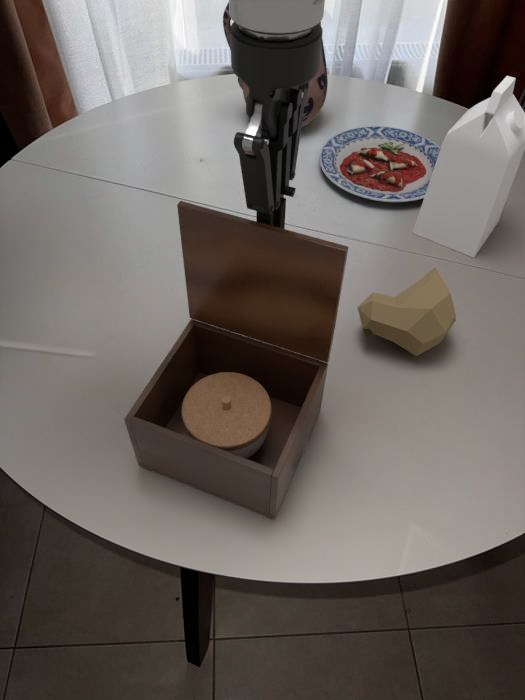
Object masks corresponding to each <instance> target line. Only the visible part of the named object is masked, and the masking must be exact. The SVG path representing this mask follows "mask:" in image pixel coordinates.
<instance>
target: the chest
mask: <svg viewBox="0 0 525 700" xmlns="http://www.w3.org/2000/svg"><path fill="white" fill-rule="evenodd" d="M328 366H329V362H328V363H327V362H323V361H320V360H317V359H314V358H311V357H308V356H305V355H302V354H299V353H296V352H293V351H290V350H286V349H283V348H280V347H277V346H274V345H271V344H268V343H265V342H262V341H259V340H256V339H253V338H249V337H246V336H243V335H240V334H237V333H234V332H231V331H228V330H225V329H222V328H219V327H216V326H213V325H209V324H206V323H203V322H200V321H197V320H194V319H191V318H190V320H189V321H188V323H187V324H186V326H185V327H184V329H183V330H182V332H181V333H180V335H179V336H178V338H177V340H176V341H175V342H174V344H173V346H172V347H171V348H170V349H169V351H168V353H167V354H166V356H165V358H163V360H162V362H161V363H160V364H159V366H158V367H157V369H156V371H155V372H154V374H153V375H152V376H151V378H150V380H149V381H148V383H147V384H146V386H145V387H144V389H143V390H142V392H141V393H140V395H139V396H138V398H137V399H136V401H135V402H134V404H133V405H132V407H131V408H130V410H129V411H128V412H127V414H126V415H125V416H124V419H123V420H124V423H125V427H126V429H127V433H128V436H129V439H130V444H131V446H132V449H133V452H134V455H135V458H136V461H137V465H138V466H139V467H142V468H145V469H146V470H149V471H152V472H155V473H156V474H159V473H160V475H162V476H165V477H167V478H169V479H172V480H174V481H176V482H179V483H182V484H184V485H186V486H188V487H192V488H194V489H197V490H199V491H202V492H203V493H204V492H205V493H207V494H209V495H211V496H214V497H216V498H219V499H222V500H224V501H226V502H228V503H232V504H234V505H236V506H239V507H242V508H244V509H247V510H248V511H252V512H254V513H257V514H259V515H262V516H264V517H267V518H268V519H269V518H270V519H272V520H274V521H275V520H276V519H277V517H278V514H279V512H280V510H281V507H282V505H283V502H284V500H285V498H286V496H287V493H288V490H289V488H290V486H291V483H292V481H293V478H294V476H295V475H296V471H297V470H298V466H299V464H300V461H301V459H302V457H303V454H304V453H305V449H306V447H307V445H308V442H309V440H310V437H311V435H312V433H313V430H314V428H315V426H316V423H317V420H318V418H319V416H320V414H321V410H322V403H323V397H324V392H325V385H326V379H327V373H328ZM222 372H234V373H240V374H243V375H246V376H248V377H251V378H253V379H254V380H256V381H257V382H258V383H259V384H261V385H262V386H263V388H264V389H265V390H266V392H267V393H268V395H269V398H270V401H271V406H272V410H271V419H270V425H269V430H268V433H267V436H266V438H265V441H264V443H263V444H262V446H261V447H260V449H259V450H258V451H257V452H256V453H255V454H254V455H252V456H251V457H250V458H248V459H246V458H243V457H240V456H238V455H235V454H232V453H230V452H227V451H224V450H222V449H219V448H216V447H214V446H211V445H209V444H206V443H203V442H201V441H198V440H195V439H193V438H190V437H188V436H187V433H186V430H185V426H184V424H183V419H182V410H181V409H182V403H183V400H184V397H185V395H186V394H187V392H188V391H189V389H190V388H191V387H192V386H193V385H194V384H195V383H197V382H198V381H199V380H201V379H203V378H205V377H207V376H209V375H212V374H216V373H222Z"/></svg>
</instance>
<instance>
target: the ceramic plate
mask: <svg viewBox="0 0 525 700" xmlns="http://www.w3.org/2000/svg"><path fill="white" fill-rule="evenodd" d="M440 149H441V146H440V145H438V144H436V143H435V142H434V141H432V140H431V139H429V138H427V137H425V136H423V135H420V134H418V133H416V132H412V131H410V130H405V129H401V128H398V127H391V126H362V127H356V128H352V129H347V130H344V131H342V132H340V133H338V134H336V135H334V136H332V137H330V138H329V139H328V140H327V141H326V142H325V143H324V144H323V145H322V147H321V150H320V152H319V165H320V168H321V171H322V172H323V173H324V175H325V176H326V178H327V179H329V181H330V182H331V183H332V184H334V185H335V186H336V187H338V188H340V189H342V190H343V191H345V192H347V193H348V194H352V195H355V196H357V197H359V198H364V199H367V200H370V201H376V202H383V203H407V202H414V201H419V200H422V199H423V200H424V197H425V194H426V191H427V188H428V185H429V182H430V179H431V176H432V173H433V170H434V167H435V164H436V161H437V158H438V155H439V152H440Z"/></svg>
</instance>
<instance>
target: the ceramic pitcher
mask: <svg viewBox="0 0 525 700" xmlns="http://www.w3.org/2000/svg"><path fill="white" fill-rule="evenodd" d="M231 20H232V19H231V18H230V14H229V1H228V2H227V4H226V6H225V8H224V11H223V15H222V28H223V32H224V36H225V39H226V42H227V44H228V47H229V50H230V51H231V37H230V28H231V25H232V24H231V23H232V22H231ZM319 24H320V25H321V26H322V20H321V21H320V22H319ZM237 83H238V85H239V87H240V89H241V90H242V95H243V99H244V102H245V103H246V100H247V97H248V93H249V88H248V87H247V85H246V84H245V83H244V82H243V81H242V80H241V79H239V78H238V77H237ZM309 84H310V85H309V88H308V92H307V96H306V101H305V105H304V112H303V119H302V126H301V128H303V127H305V126H307V125H308V124H309V123H311V122H312V121H313V120H314V119H315V118H316V117H317V116H318V114H319V113H320V112H321V110H322V108H323V107H324V104H325V101H326V97H327V94H328V84H329V83H328V68H327V59H326V53H325V46H324V39H323V38H322V44H321V56H320V67H319V71H318V73H317V74H316V76H315V77H314V78H313V79H312V80H310V81H309Z"/></svg>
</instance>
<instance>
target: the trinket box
mask: <svg viewBox="0 0 525 700" xmlns="http://www.w3.org/2000/svg"><path fill="white" fill-rule="evenodd" d="M181 410H182V419H183V424H184V426H185V430H186V433H187V436H188V437H190V438H193V439H195V440H198V441H201V442H203V443H206V444H209V445H211V446H214V447H216V448H219V449H222V450H224V451H227V452H230V453H232V454H235V455H238V456H240V457H243V458H246V459H248V458H250V457H251V456H252V455H254V454H255V453H256V452H257V451H258V450H259V449H260V447H261V446H262V444H263V443H264V441H265V438H266V436H267V433H268V430H269V425H270V419H271V410H272V406H271V401H270V398H269V395H268V393H267V392H266V390H265V389H264V388H263V386H262V385H261V384H259V383H258V382H257V381H256V380H254V379H253V378H251V377H248V376H246V375H243V374H240V373H234V372H222V373H216V374H212V375H209V376H207V377H205V378H203V379H201V380H199V381H198V382H197V383H195V384H194V385H193V386H192V387H191V388H190V389H189V391H188V392H187V394H186V395H185V397H184V400H183V403H182V409H181Z"/></svg>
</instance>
